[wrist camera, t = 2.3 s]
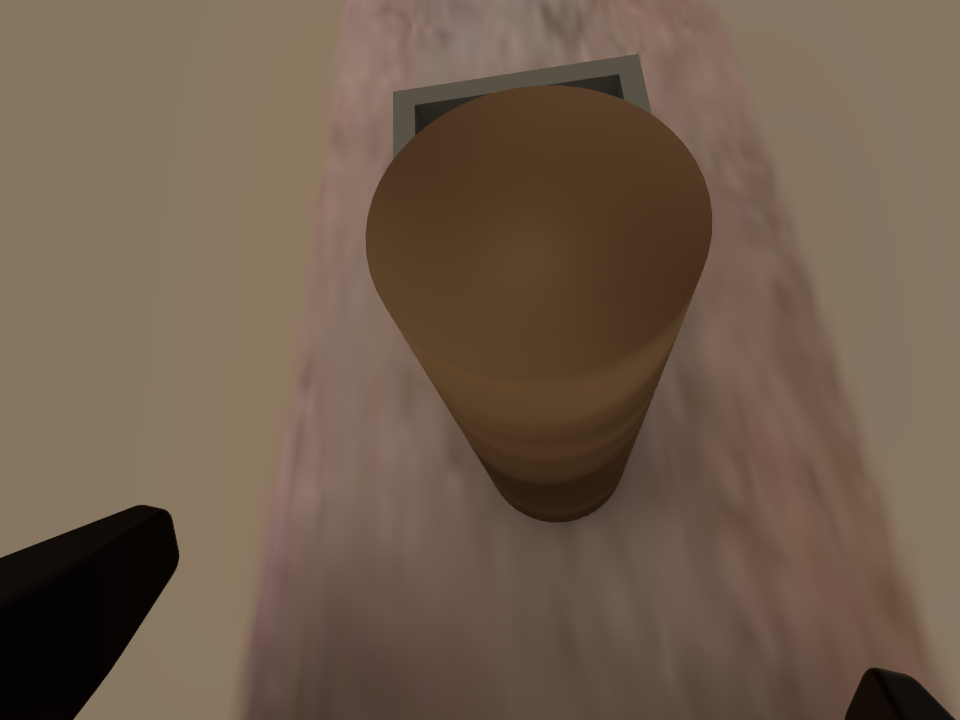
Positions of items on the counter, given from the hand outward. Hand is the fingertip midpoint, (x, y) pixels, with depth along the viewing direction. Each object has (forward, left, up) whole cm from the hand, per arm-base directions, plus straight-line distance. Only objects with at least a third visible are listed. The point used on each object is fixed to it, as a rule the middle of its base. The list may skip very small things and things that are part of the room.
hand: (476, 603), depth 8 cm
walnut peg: (+5, +1, -11) cm, 12 cm away
